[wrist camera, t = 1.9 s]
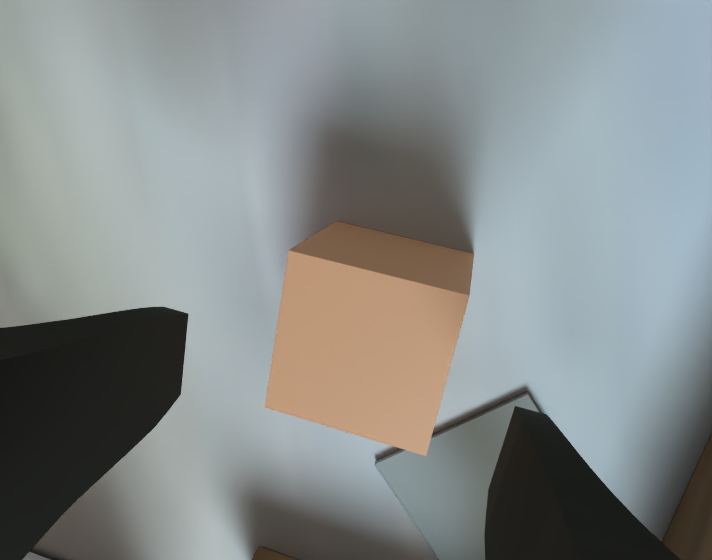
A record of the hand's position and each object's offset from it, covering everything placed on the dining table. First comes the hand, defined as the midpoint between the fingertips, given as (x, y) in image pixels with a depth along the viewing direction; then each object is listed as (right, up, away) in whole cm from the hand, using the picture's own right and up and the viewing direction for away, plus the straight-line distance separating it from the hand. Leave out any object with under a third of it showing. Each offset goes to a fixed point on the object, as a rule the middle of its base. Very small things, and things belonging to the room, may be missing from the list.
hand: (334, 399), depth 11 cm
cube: (+2, +2, +7) cm, 7 cm away
